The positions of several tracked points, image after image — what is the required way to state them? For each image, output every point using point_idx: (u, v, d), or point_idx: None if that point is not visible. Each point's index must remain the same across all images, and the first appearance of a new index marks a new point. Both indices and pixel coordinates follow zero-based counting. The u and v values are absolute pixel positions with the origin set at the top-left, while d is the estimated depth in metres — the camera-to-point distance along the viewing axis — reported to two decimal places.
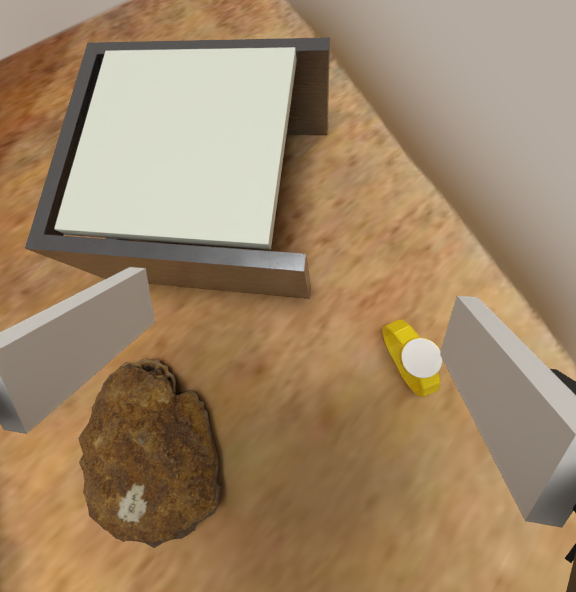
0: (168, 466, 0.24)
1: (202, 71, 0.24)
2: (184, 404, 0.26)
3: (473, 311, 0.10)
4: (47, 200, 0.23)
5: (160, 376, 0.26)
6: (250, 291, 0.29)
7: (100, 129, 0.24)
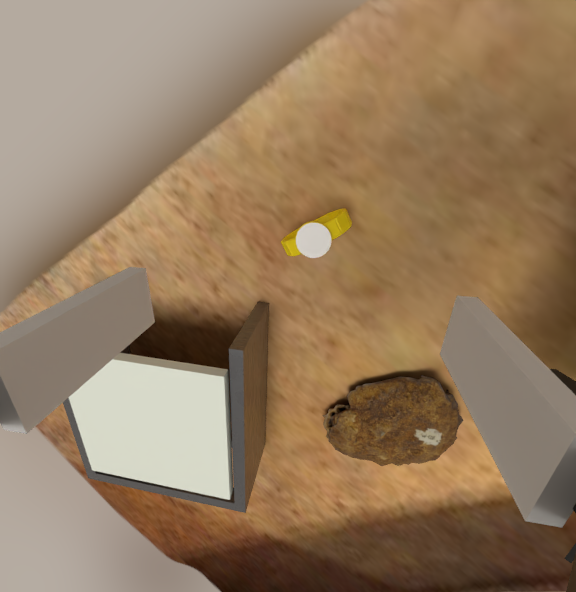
0: (402, 415, 0.31)
1: (92, 413, 0.30)
2: (357, 402, 0.33)
3: (473, 311, 0.10)
4: (210, 501, 0.33)
5: (335, 418, 0.34)
6: (266, 350, 0.34)
7: (153, 474, 0.32)
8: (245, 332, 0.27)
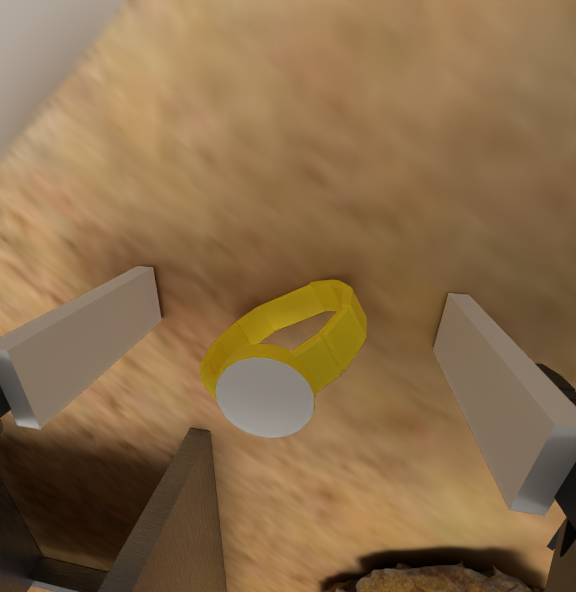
0: None
1: None
2: None
3: (463, 308, 0.11)
4: None
5: None
6: (211, 505, 0.19)
7: None
8: (130, 559, 0.12)
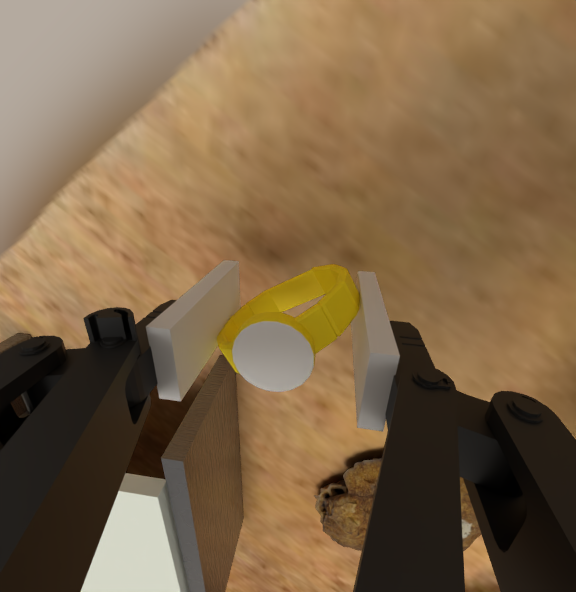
0: None
1: None
2: (357, 485, 0.25)
3: (361, 281, 0.13)
4: None
5: (330, 506, 0.26)
6: (235, 417, 0.25)
7: None
8: (193, 419, 0.18)
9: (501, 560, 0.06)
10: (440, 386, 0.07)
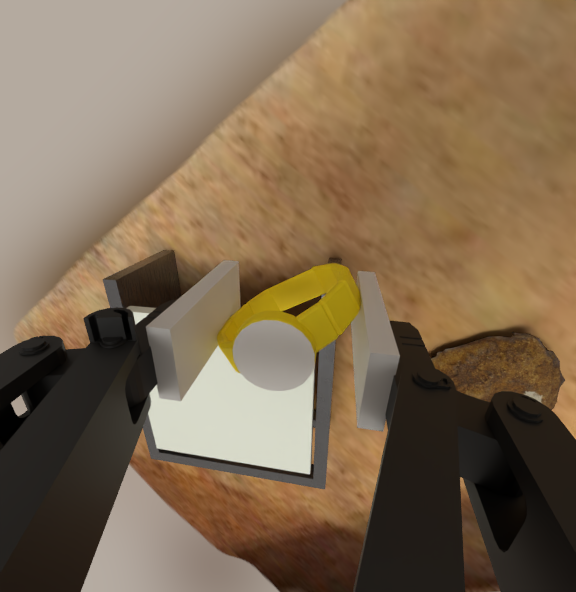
0: (496, 379, 0.28)
1: None
2: (440, 369, 0.30)
3: (361, 281, 0.13)
4: (285, 477, 0.30)
5: None
6: None
7: (224, 449, 0.30)
8: None
9: (501, 560, 0.06)
10: (440, 387, 0.07)
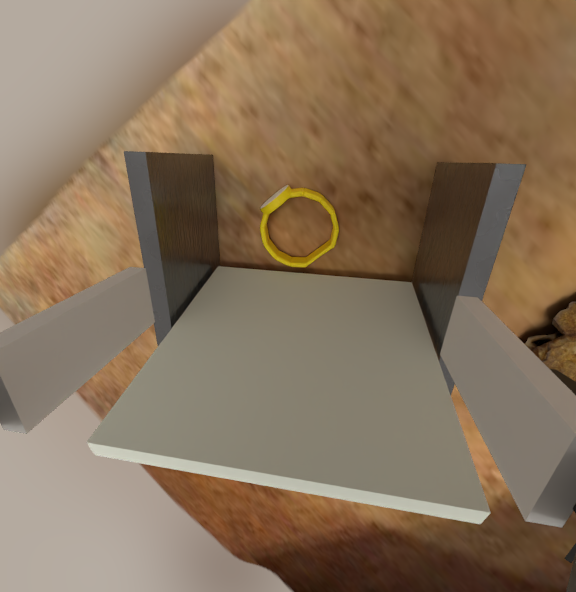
0: None
1: (211, 319, 0.20)
2: None
3: (473, 311, 0.10)
4: None
5: (540, 353, 0.23)
6: None
7: (267, 436, 0.13)
8: None
9: None
10: None
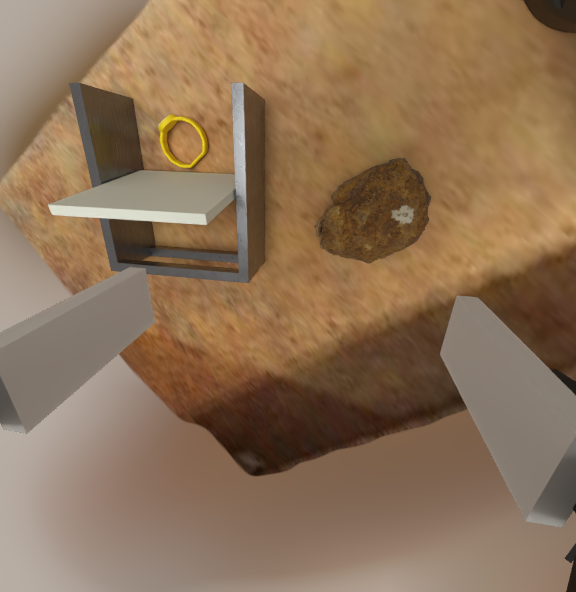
0: (377, 196, 0.37)
1: (124, 183, 0.36)
2: (340, 197, 0.39)
3: (473, 311, 0.10)
4: (217, 275, 0.38)
5: (324, 217, 0.40)
6: (263, 149, 0.39)
7: (128, 204, 0.29)
8: None
9: None
10: None
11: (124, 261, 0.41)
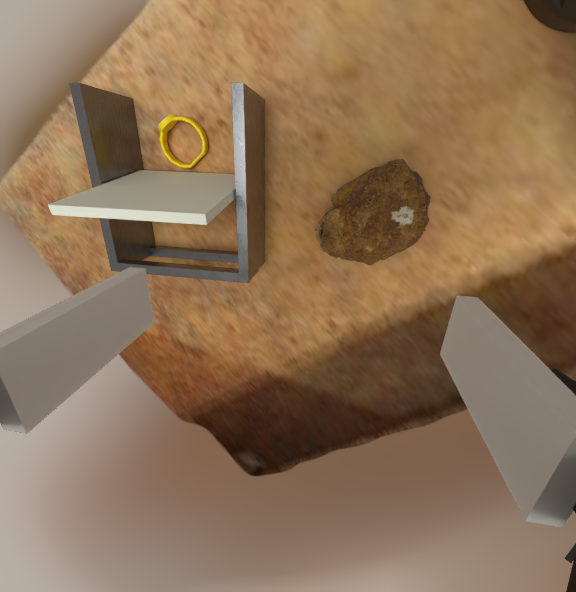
0: (377, 198, 0.37)
1: (124, 183, 0.36)
2: (339, 200, 0.39)
3: (473, 311, 0.10)
4: (217, 275, 0.38)
5: (324, 220, 0.40)
6: (263, 149, 0.39)
7: (128, 204, 0.29)
8: None
9: None
10: None
11: (124, 261, 0.41)
